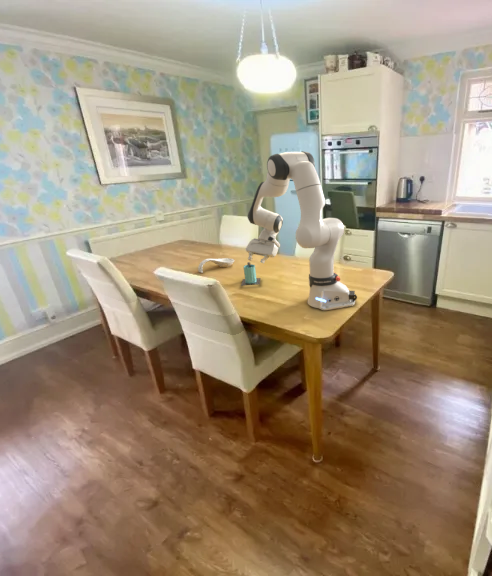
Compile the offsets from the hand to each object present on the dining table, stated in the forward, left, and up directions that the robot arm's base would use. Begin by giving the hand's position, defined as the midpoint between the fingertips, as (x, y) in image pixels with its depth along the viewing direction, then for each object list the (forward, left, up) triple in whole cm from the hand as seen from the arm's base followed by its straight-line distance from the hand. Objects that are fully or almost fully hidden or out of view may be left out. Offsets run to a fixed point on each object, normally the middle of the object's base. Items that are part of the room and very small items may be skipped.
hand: (255, 261), depth 176 cm
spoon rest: (+27, -28, -12) cm, 41 cm away
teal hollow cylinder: (+3, +4, -10) cm, 11 cm away
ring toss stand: (+3, +4, -12) cm, 13 cm away
